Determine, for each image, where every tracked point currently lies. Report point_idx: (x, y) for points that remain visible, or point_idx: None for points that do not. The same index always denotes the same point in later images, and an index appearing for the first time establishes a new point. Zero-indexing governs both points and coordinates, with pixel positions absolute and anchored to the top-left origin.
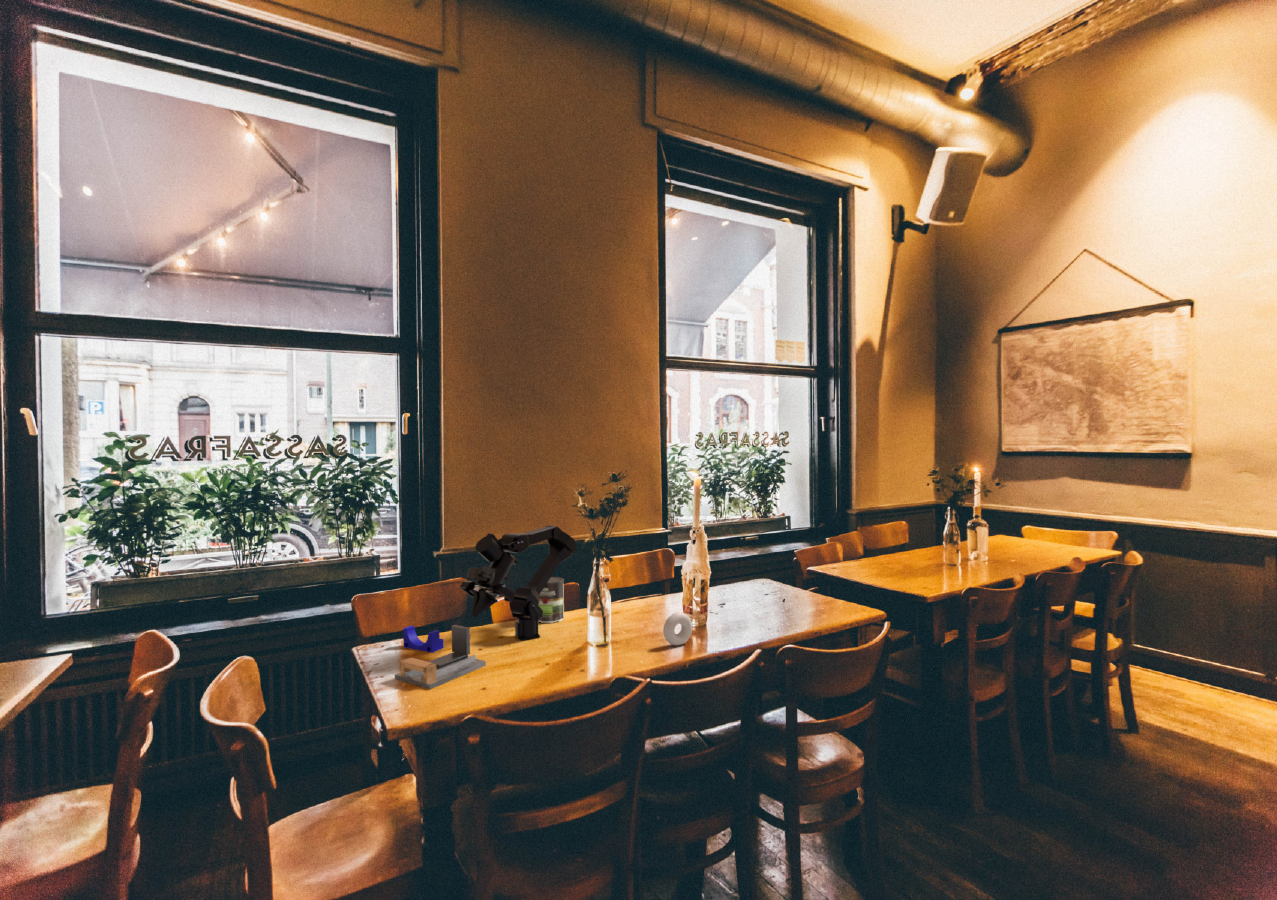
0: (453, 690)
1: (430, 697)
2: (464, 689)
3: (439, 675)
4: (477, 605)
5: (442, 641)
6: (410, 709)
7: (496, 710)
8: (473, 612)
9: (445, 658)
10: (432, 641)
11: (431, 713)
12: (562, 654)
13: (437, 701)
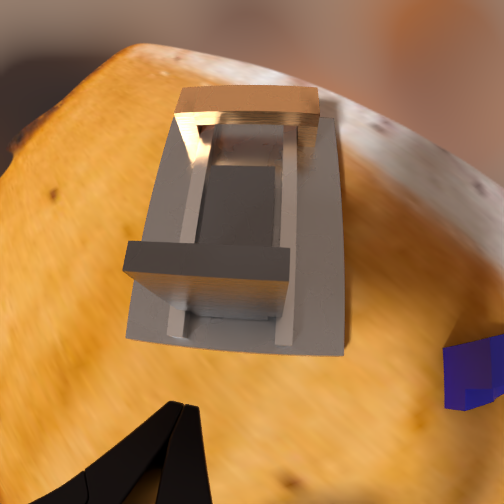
0: (115, 150)
1: (146, 106)
2: (93, 167)
3: (193, 162)
4: (109, 475)
5: (459, 405)
6: (152, 69)
7: (10, 147)
8: (169, 425)
9: (241, 220)
10: (467, 345)
11: (105, 81)
12: (7, 487)
13: (120, 105)
